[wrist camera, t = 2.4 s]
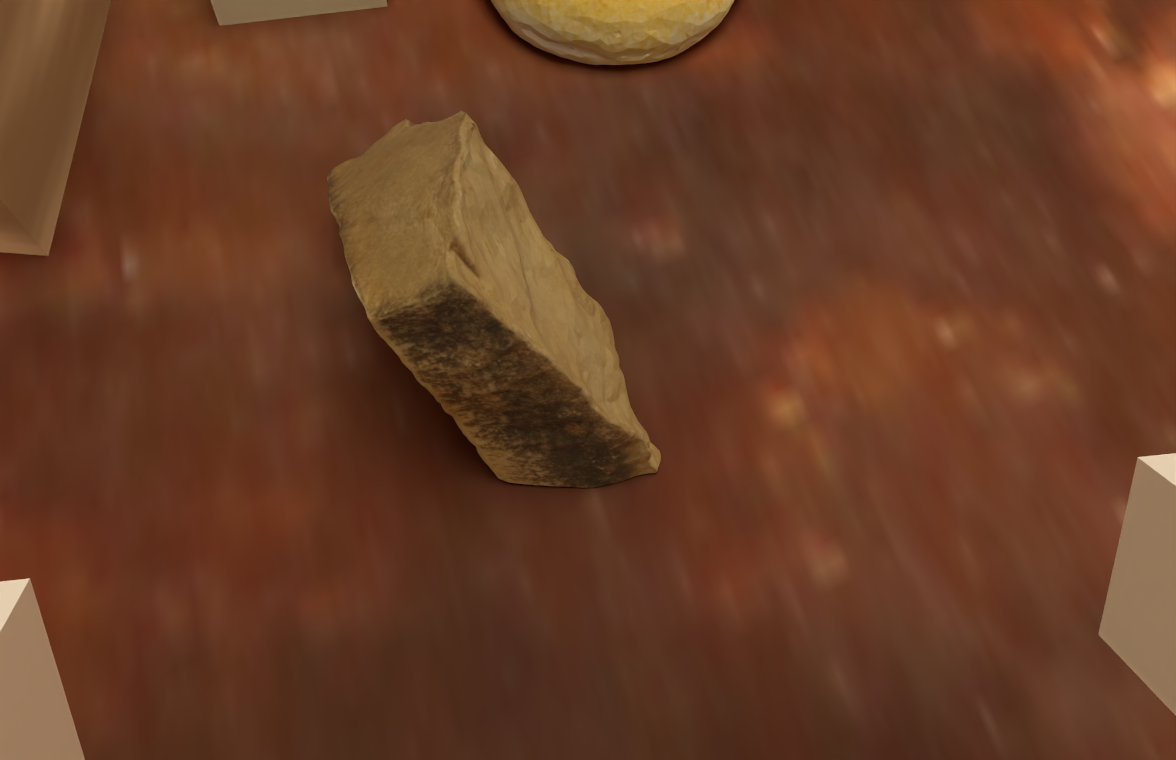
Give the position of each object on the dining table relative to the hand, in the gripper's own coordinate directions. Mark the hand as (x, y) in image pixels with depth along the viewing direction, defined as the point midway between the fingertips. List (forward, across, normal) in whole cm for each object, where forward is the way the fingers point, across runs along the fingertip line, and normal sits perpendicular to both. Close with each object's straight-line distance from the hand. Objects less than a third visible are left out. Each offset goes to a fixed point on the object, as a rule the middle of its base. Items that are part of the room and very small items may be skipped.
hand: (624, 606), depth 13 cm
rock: (+17, 0, -3) cm, 17 cm away
